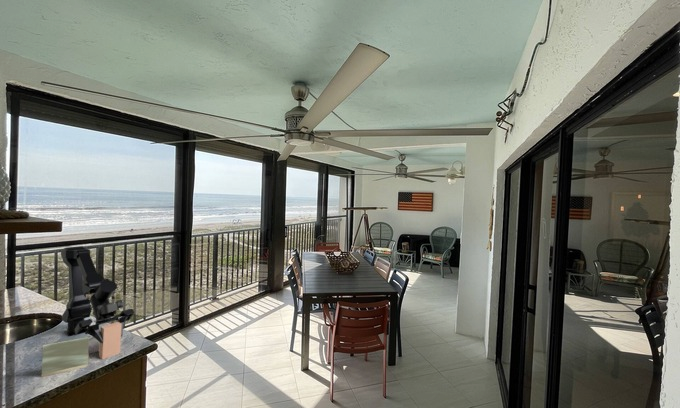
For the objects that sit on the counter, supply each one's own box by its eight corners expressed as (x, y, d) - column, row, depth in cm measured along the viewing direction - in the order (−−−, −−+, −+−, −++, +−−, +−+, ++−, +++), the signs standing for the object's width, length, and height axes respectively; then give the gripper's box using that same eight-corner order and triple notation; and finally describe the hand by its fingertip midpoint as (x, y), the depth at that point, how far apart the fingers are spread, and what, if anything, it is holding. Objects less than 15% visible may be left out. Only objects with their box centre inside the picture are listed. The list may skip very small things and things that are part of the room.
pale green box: (46, 364, 109) (48, 334, 109) (88, 355, 116) (90, 327, 116) (41, 377, 101) (43, 345, 101) (87, 366, 108) (88, 337, 108)
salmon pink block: (98, 356, 115) (100, 326, 115) (116, 350, 120) (118, 321, 120) (102, 359, 114) (103, 328, 114) (120, 352, 119) (121, 323, 119)
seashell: (111, 332, 129) (109, 337, 121) (110, 345, 128) (108, 351, 120) (80, 336, 124) (76, 341, 116) (79, 350, 123) (75, 356, 115)
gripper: (79, 301, 111) (89, 338, 105) (133, 289, 127) (145, 321, 121) (70, 316, 115) (79, 353, 109) (124, 303, 131) (135, 334, 125)
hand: (112, 339), depth 116 cm, fingers closed on salmon pink block, 6 cm apart
